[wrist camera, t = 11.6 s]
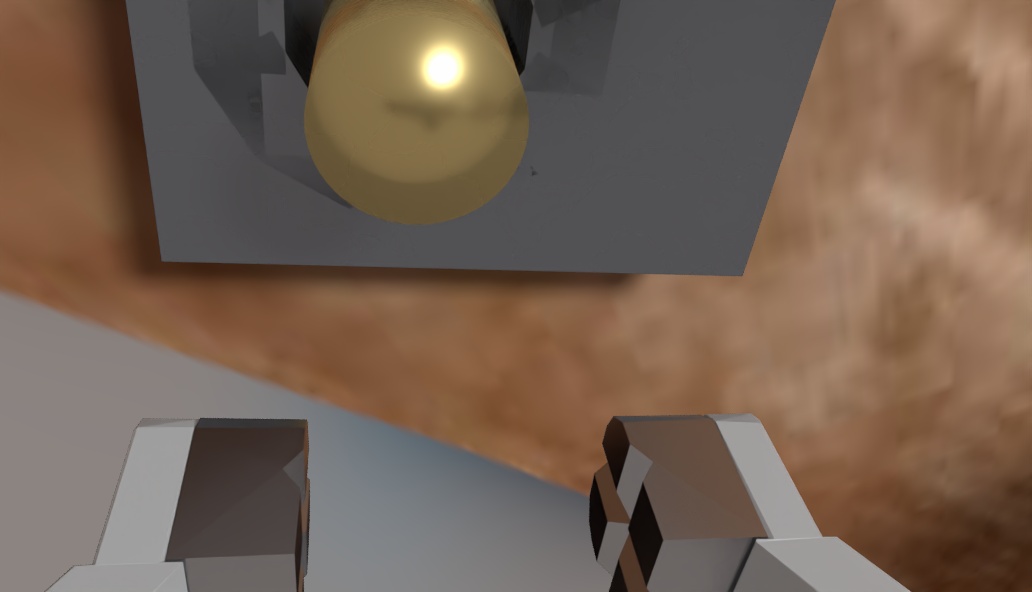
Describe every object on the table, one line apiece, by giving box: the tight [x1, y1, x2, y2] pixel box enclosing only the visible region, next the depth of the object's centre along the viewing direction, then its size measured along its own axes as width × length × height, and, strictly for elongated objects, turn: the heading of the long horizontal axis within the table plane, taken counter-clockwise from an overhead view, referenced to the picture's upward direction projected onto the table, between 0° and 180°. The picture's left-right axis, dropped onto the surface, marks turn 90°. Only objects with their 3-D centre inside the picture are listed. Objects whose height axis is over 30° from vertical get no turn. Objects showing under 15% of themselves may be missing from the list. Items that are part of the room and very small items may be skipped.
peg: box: [304, 0, 529, 225], centre depth 18 cm, size 4×4×8 cm
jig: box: [126, 0, 836, 276], centre depth 21 cm, size 16×13×4 cm
